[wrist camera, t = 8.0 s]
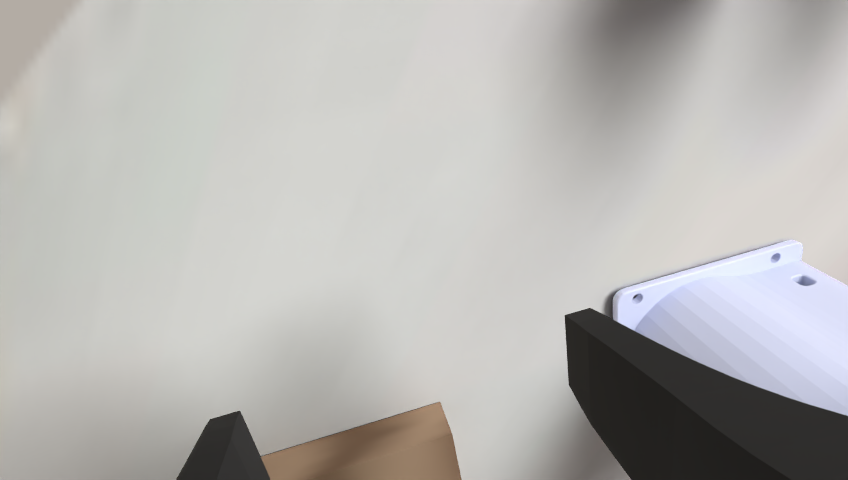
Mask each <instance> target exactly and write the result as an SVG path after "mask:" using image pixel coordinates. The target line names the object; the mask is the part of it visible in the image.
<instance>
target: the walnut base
mask: <svg viewBox="0 0 848 480" xmlns="http://www.w3.org/2000/svg"><path fill="white" fill-rule="evenodd" d="M261 459H262V461H263V463H264V466H265V468H266V470H267V472H268V475H269V477H270V480H461V475H460V470H459V466H458V461H457V456H456V451H455V446H454V441H453V436H452V433H451V430H450V427H449V425H448V422H447V419H446V417H445V414H444V411H443V409H442V406H441V403H440V402H438V403H435V404H432V405H428V406H425V407H422V408H419V409H415V410H412V411H409V412H405V413H402V414H399V415H396V416H392V417H389V418H386V419H383V420H379V421H376V422H373V423H370V424H366V425H363V426H360V427H356V428H353V429H350V430H347V431H343V432H340V433H337V434H334V435H330V436H327V437H324V438H321V439H317V440H314V441H311V442H307V443H304V444H301V445H298V446H294V447H291V448H288V449H285V450H281V451H278V452H275V453H272V454H268V455H265V456H262V457H261Z"/></svg>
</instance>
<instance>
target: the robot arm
mask: <svg viewBox="0 0 848 480" xmlns="http://www.w3.org/2000/svg"><path fill="white" fill-rule="evenodd" d="M802 252H803V245H802V244H801V243H799V242H797V241H795V240H788V241H785V242H781V243H778V244H774V245H771V246H767V247H764V248H760V249H757V250H754V251H750V252H747V253H743V254H740V255H736V256H733V257H730V258H726V259H723V260H719V261H716V262H712V263H709V264H705V265H702V266H699V267H695V268H692V269H688V270H685V271H681V272H678V273H674V274H671V275H668V276H664V277H661V278H657V279H654V280H650V281H647V282H644V283H640V284H637V285H633V286H630V287H626V288H623V289H621V290H619V291H618V292H617V293H616V294H615V295H614V297H613V319H611V318H609V317H607V316H605V315H603V314H601V313H599V312H597V311H595V310H593V309H591V308H588V309H585V310H581V311H578V312H575V313H571V314H568V315H565V327H566V344H567V361H568V378H569V386H570V388H571V389H572V391H573V393H574V395H575V397H576V399H577V401H578V402H579V404H580V406H581V408H582V409H583V411H584V413H585V415H586V416H587V418H588V420H589V422H590V423H591V425H592V426H593V428H594V429H595V430H596V432H597V433H598V435H599V436H600V437H601V439H602V440H603V442H604V443H605V444H606V446H607V447H608V448H609V450H610V451H611V452H612V454H613V455H614V457H615V458H616V459H617V461H618V462H619V463H620V465H621V466H622V467H623V469H624V470H625V471H626V473H627V474H628V475H629V477H630V478H631V480H848V285H846V284H844V283H842V282H840V281H838V280H836V279H834V278H833V277H831V276H829V275H827V274H825V273H823V272H821V271H819V270H817V269H816V268H814V267H812V266H810V265H808V264H806V263H804V262H802V261H801V258H802ZM636 294H637V296H636V297H635V298H634V299H633V297H634V296H635V295H636ZM176 480H270V477H269V475H268V472H267V470H266V468H265V466H264V463H263V461H262V459H261V457H260V454H259V452H258V450H257V448H256V445H255V443H254V441H253V439H252V436H251V434H250V432H249V430H248V428H247V425H246V423H245V421H244V419H243V416H242V414H241V412H240V411H237V412H234V413H230V414H227V415H223V416H220V417H217V418H213V419H210V420H209V422H208V424H207V425H206V427H205V429H204V430H203V432H202V434H201V436H200V438H199V439H198V441H197V443H196V445H195V447H194V449H193V450H192V452H191V454H190V456H189V458H188V459H187V461H186V463H185V465H184V467H183V468H182V470H181V472H180V474H179V476H178V477H177V479H176Z"/></svg>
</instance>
